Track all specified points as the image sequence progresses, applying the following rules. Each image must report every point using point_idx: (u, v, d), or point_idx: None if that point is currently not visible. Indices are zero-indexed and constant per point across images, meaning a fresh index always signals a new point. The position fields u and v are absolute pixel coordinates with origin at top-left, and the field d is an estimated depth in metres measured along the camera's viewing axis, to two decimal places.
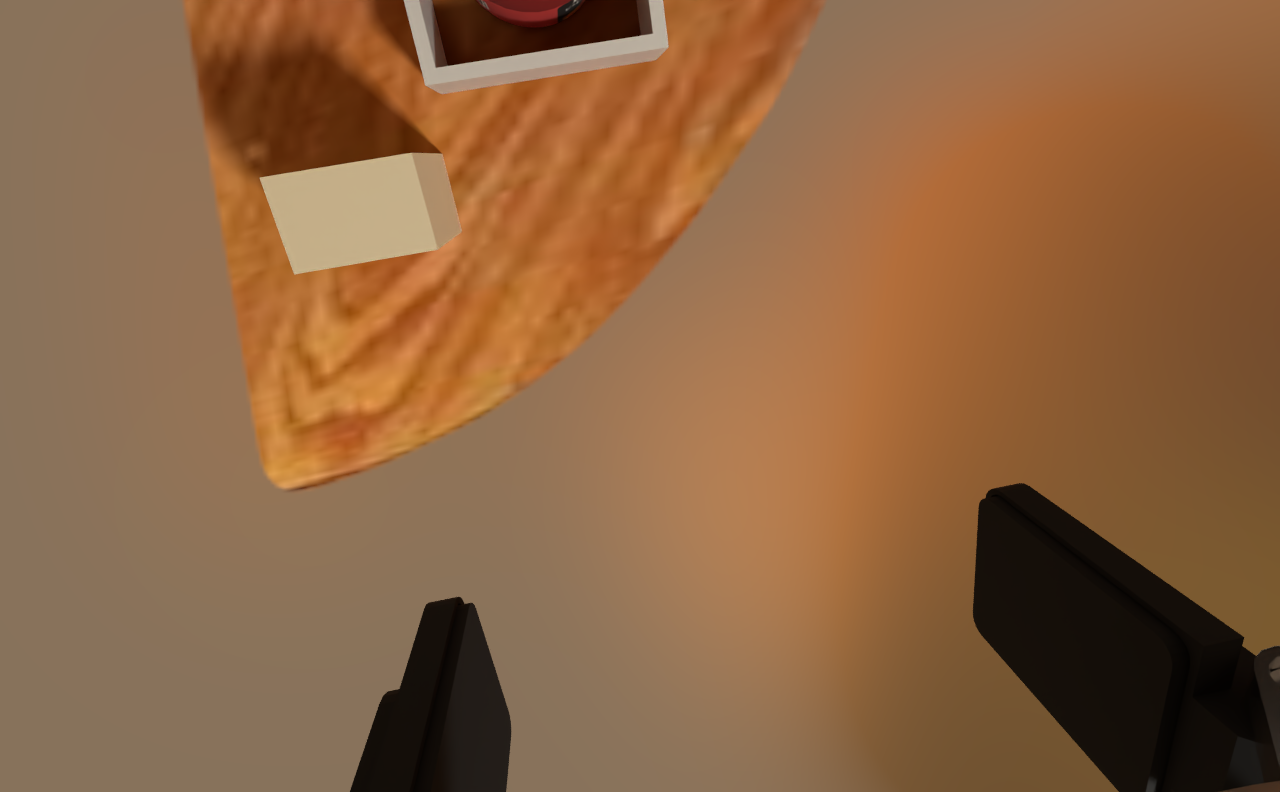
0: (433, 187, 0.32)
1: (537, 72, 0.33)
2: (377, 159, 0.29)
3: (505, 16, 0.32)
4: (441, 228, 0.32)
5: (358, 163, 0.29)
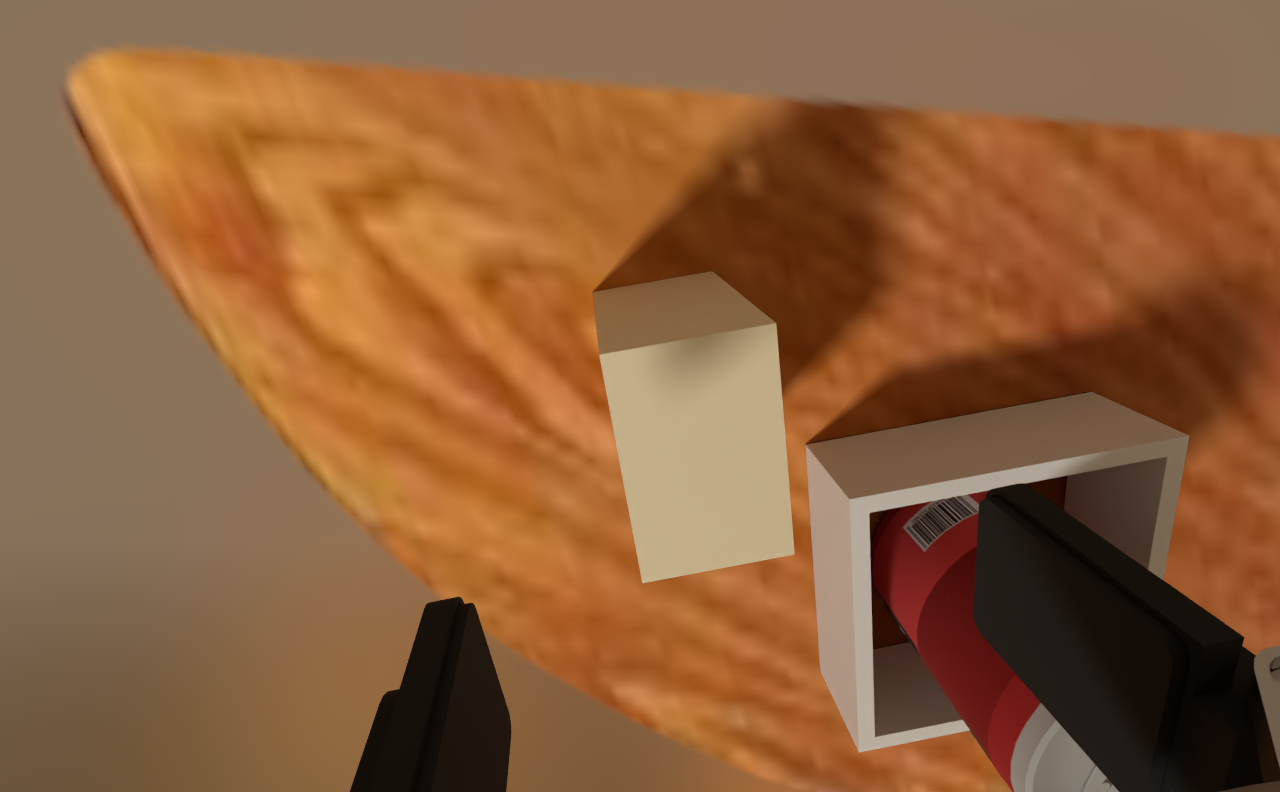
0: None
1: (836, 596, 0.25)
2: (788, 507, 0.18)
3: (899, 556, 0.25)
4: None
5: (785, 480, 0.17)
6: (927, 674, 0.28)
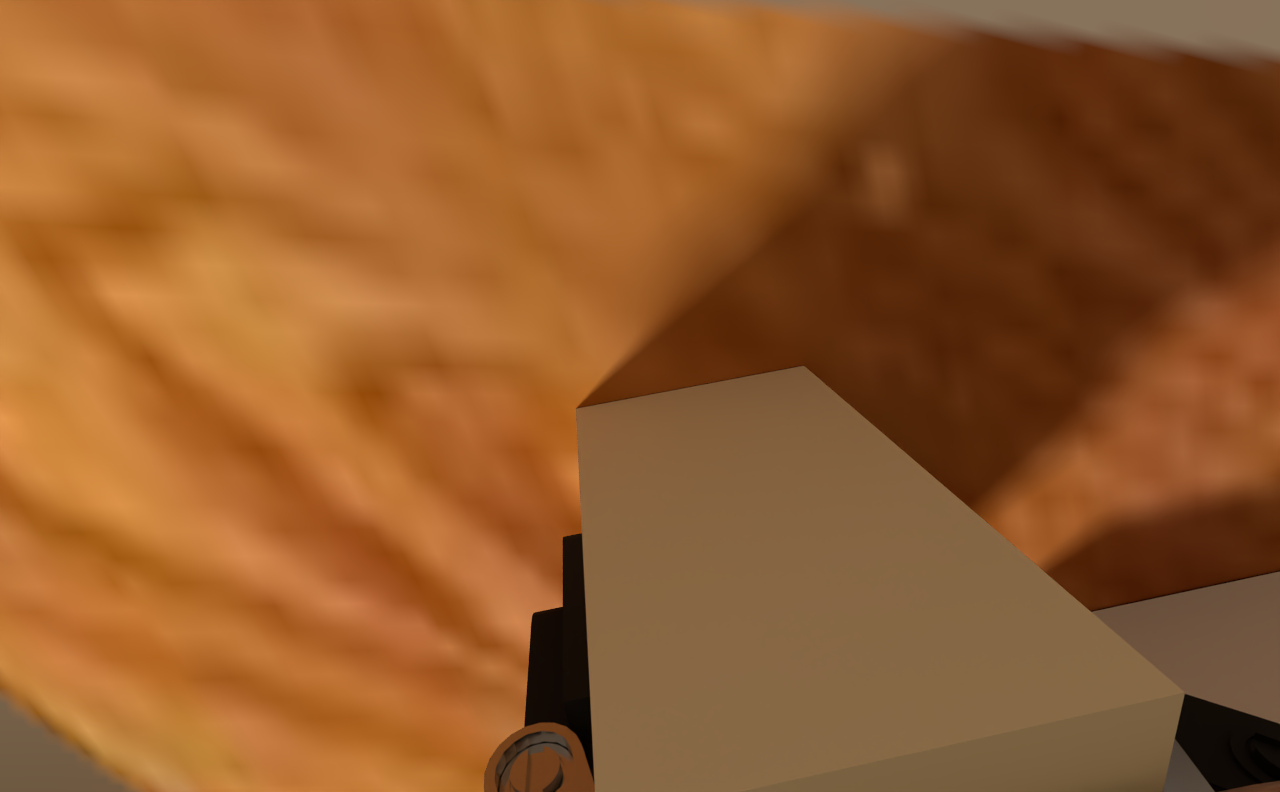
0: None
1: None
2: None
3: None
4: None
5: None
6: None
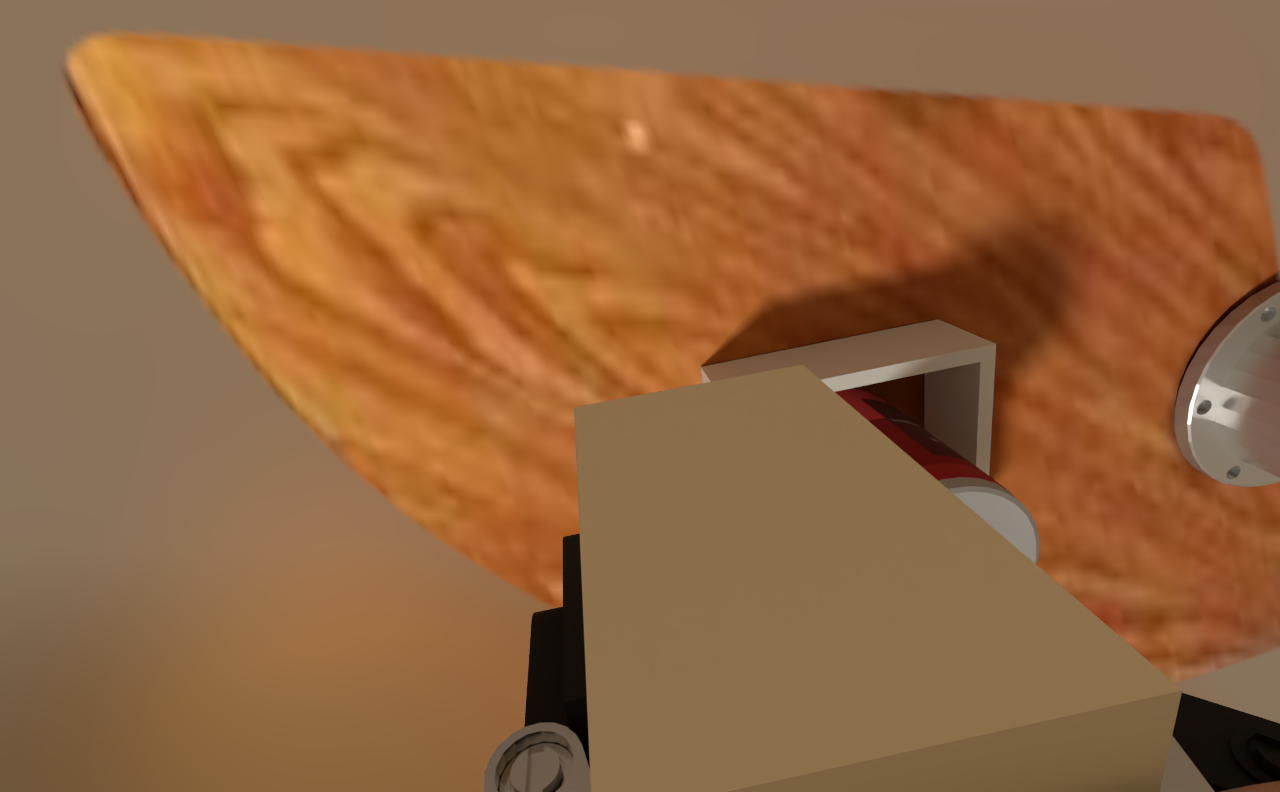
0: None
1: None
2: None
3: None
4: None
5: None
6: None
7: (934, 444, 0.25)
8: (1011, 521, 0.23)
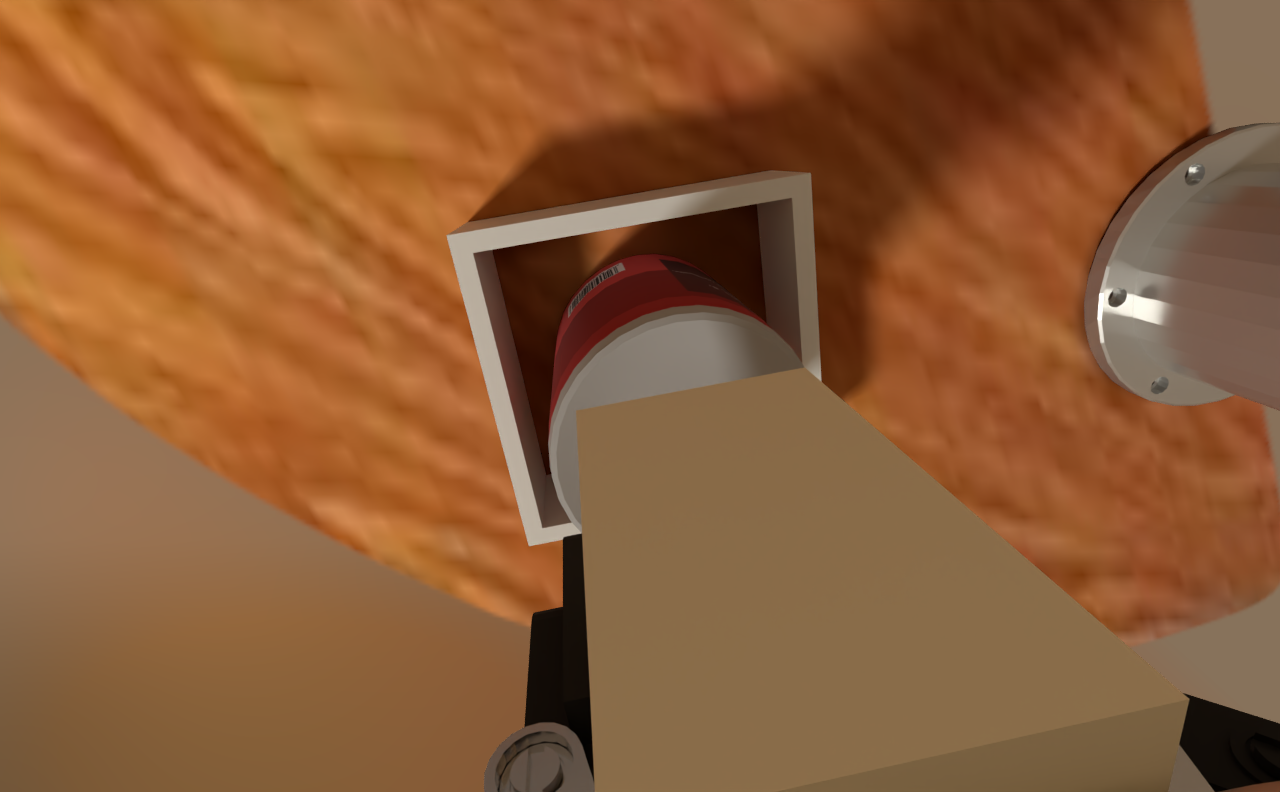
0: None
1: None
2: None
3: (558, 334, 0.24)
4: None
5: None
6: None
7: (704, 287, 0.19)
8: (775, 371, 0.17)
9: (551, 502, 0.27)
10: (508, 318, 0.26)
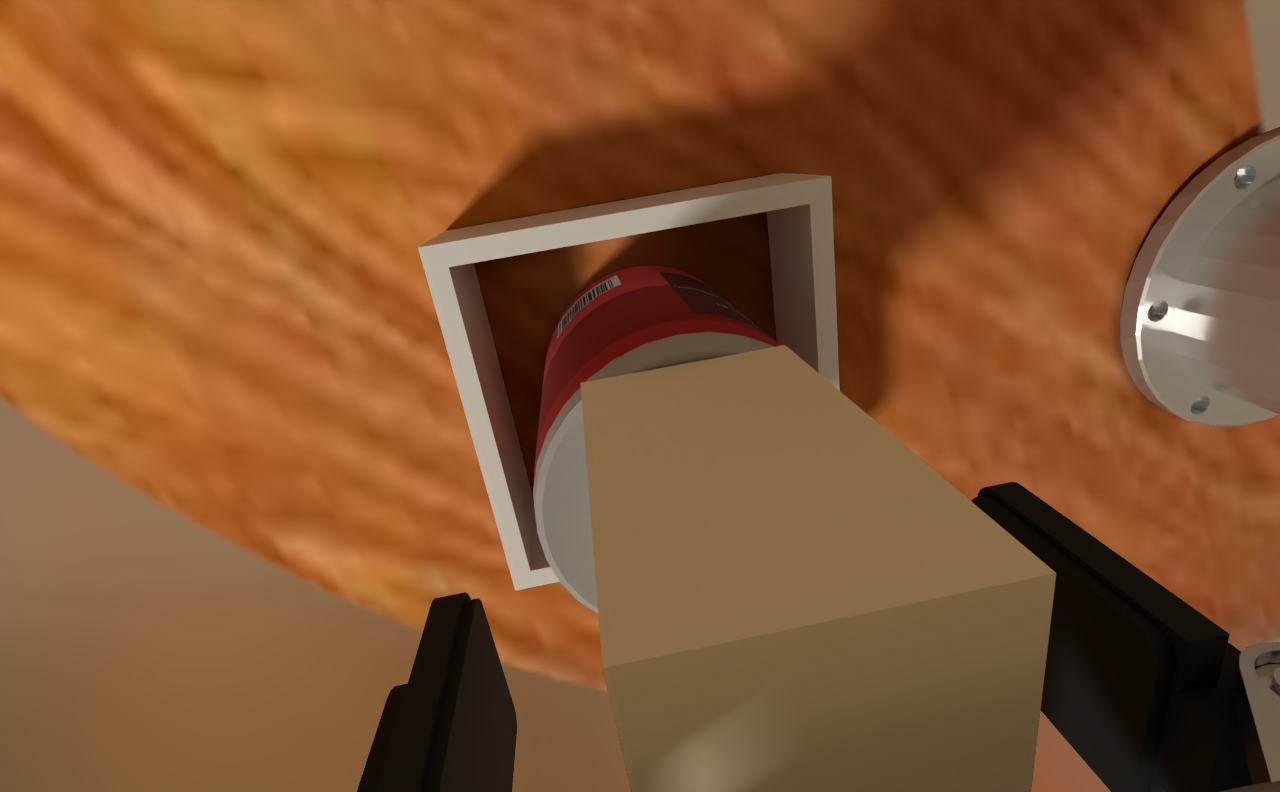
0: None
1: None
2: None
3: (547, 355, 0.22)
4: None
5: None
6: None
7: (713, 306, 0.17)
8: None
9: None
10: None
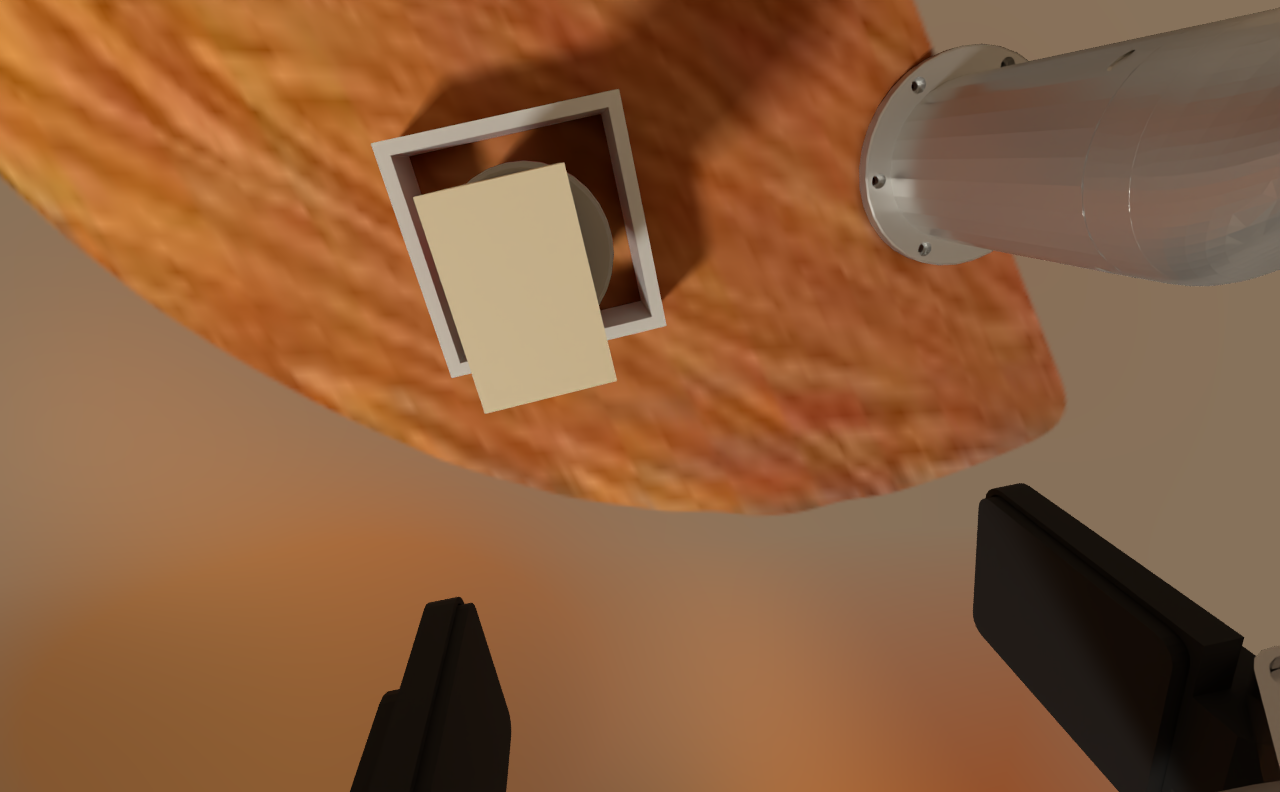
0: None
1: None
2: (604, 335, 0.20)
3: None
4: None
5: (597, 310, 0.20)
6: None
7: None
8: (576, 202, 0.26)
9: None
10: None
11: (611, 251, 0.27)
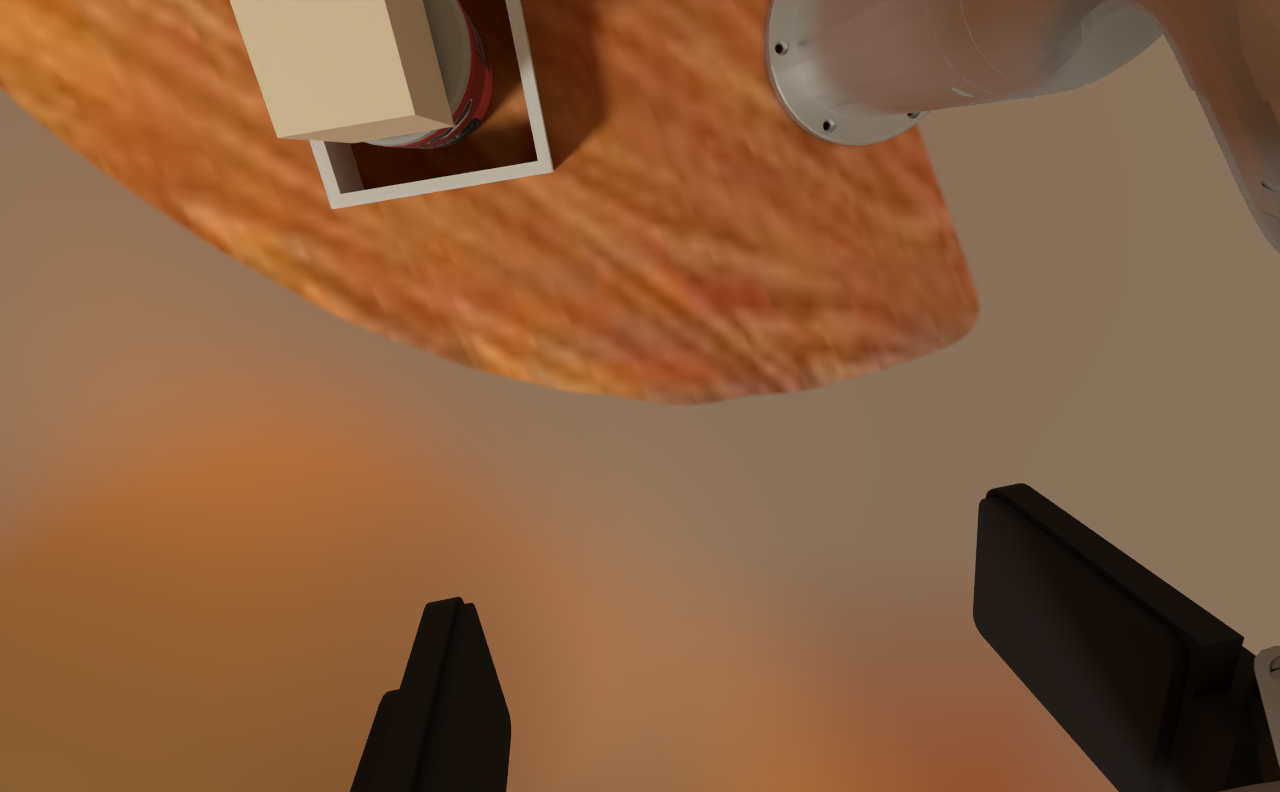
0: (387, 127, 0.23)
1: None
2: (399, 61, 0.20)
3: None
4: (325, 136, 0.22)
5: (389, 29, 0.20)
6: None
7: None
8: None
9: None
10: None
11: (465, 47, 0.27)
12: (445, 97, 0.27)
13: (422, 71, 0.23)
